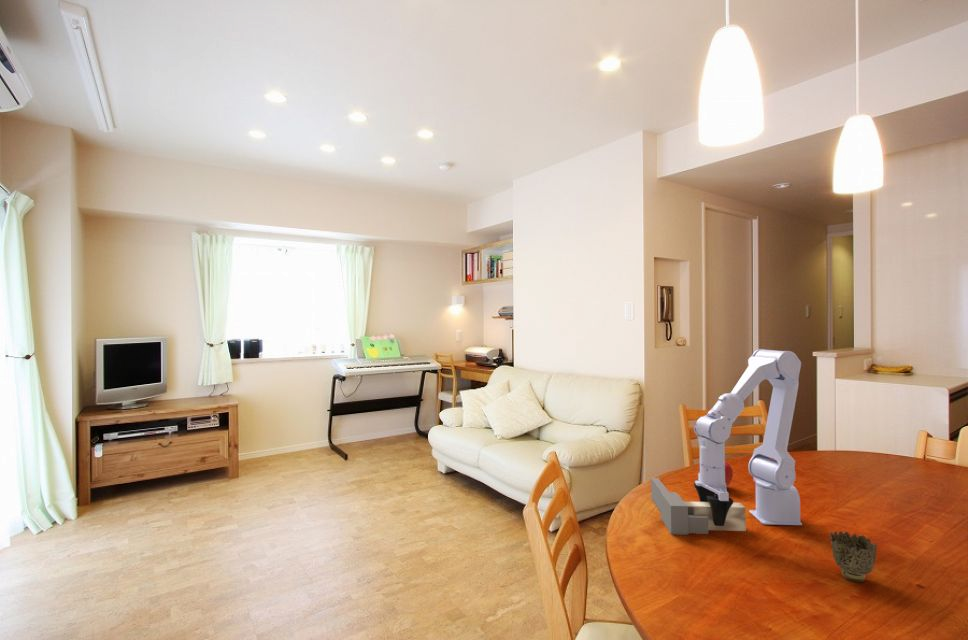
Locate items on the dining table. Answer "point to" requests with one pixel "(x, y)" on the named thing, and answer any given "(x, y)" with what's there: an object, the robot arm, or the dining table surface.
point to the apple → (728, 474)
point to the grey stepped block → (676, 511)
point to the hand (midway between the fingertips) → (712, 518)
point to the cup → (853, 555)
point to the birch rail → (733, 518)
